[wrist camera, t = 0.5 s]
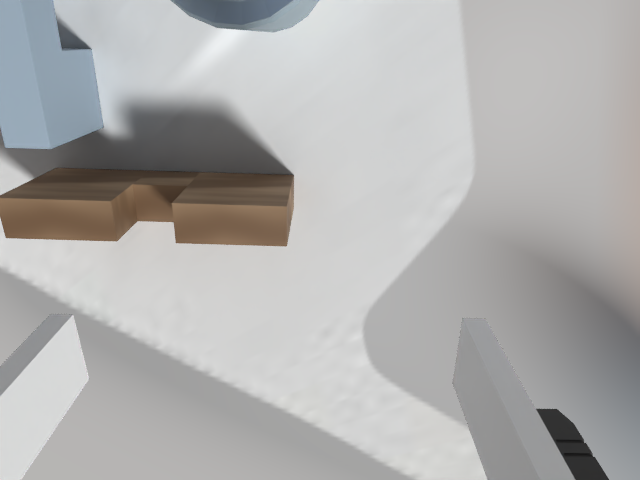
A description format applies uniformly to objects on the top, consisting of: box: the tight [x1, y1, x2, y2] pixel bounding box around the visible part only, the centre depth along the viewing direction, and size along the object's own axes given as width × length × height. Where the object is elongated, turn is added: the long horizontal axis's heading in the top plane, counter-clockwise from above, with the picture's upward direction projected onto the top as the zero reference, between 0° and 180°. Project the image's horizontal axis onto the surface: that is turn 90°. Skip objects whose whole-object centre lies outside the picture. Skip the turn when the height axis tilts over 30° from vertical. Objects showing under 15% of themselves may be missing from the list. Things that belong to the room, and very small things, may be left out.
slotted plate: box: [0, 0, 103, 149], centre depth 31 cm, size 16×3×8 cm, turn 178°
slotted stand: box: [0, 168, 294, 246], centre depth 36 cm, size 3×20×8 cm, turn 88°
